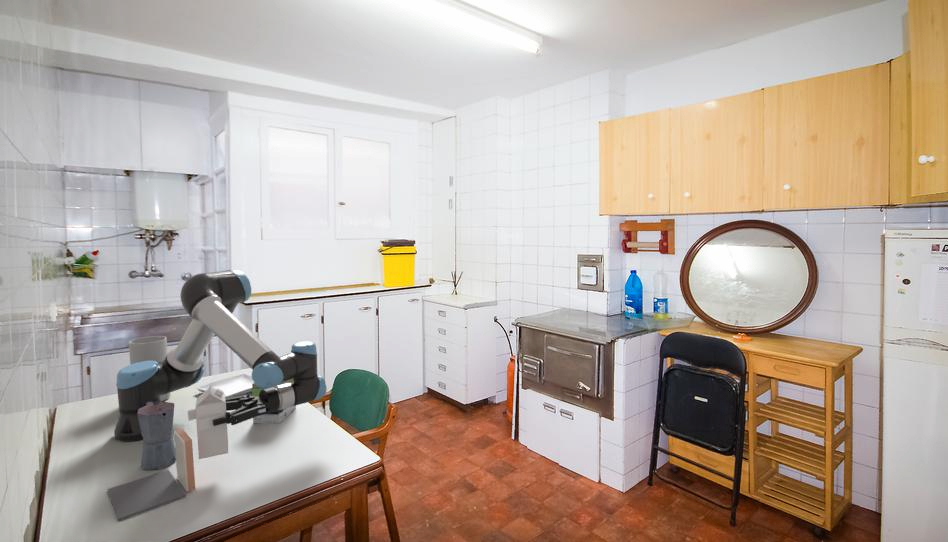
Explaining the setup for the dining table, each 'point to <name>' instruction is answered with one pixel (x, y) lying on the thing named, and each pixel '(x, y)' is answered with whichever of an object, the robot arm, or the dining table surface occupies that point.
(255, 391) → the tea box
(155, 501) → the rubber mat
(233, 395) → the salad plate
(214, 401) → the milk carton
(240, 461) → the dining table surface
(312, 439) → the dining table surface
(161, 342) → the cylinder vase
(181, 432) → the terracotta tile
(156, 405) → the moka pot
